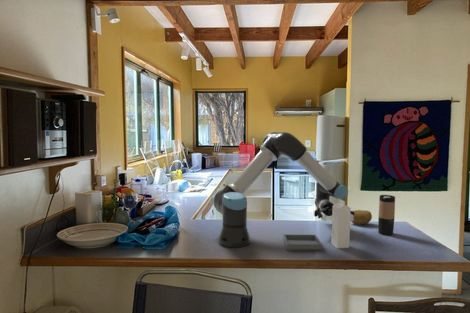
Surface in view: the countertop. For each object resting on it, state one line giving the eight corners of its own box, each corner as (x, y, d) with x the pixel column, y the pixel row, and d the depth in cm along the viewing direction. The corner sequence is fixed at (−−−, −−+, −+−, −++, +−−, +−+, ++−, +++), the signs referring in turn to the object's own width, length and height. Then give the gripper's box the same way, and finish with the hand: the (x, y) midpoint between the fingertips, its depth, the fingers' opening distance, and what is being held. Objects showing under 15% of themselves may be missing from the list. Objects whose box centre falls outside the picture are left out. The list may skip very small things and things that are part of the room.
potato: (344, 221, 193) (344, 208, 193) (368, 221, 193) (368, 208, 192) (349, 226, 183) (349, 212, 183) (374, 226, 183) (375, 212, 182)
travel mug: (390, 231, 174) (392, 195, 173) (396, 235, 167) (397, 197, 165) (375, 230, 175) (377, 194, 173) (380, 235, 167) (382, 197, 166)
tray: (286, 250, 145) (287, 244, 145) (283, 240, 159) (283, 234, 159) (322, 251, 145) (322, 244, 145) (315, 240, 159) (315, 234, 159)
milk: (337, 248, 148) (338, 201, 146) (331, 244, 154) (332, 198, 152) (349, 247, 149) (351, 201, 148) (342, 243, 155) (344, 198, 153)
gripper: (349, 214, 177) (364, 226, 156) (304, 214, 178) (312, 225, 156) (350, 201, 177) (365, 211, 155) (304, 200, 177) (313, 210, 156)
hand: (338, 218), depth 156 cm, fingers open, 13 cm apart
